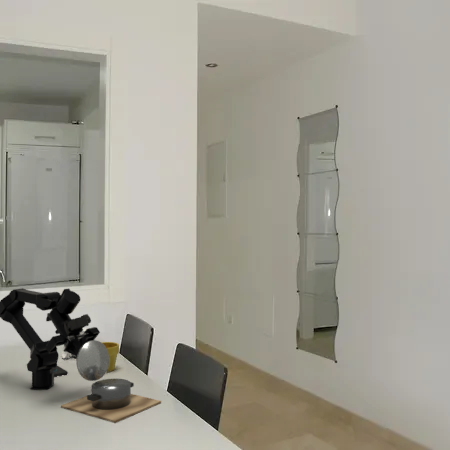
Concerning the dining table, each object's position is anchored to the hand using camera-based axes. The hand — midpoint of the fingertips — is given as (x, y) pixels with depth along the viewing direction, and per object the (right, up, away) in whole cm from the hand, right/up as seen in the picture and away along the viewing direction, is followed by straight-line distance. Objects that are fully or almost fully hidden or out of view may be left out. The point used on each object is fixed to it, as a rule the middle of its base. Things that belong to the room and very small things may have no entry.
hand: (86, 360), depth 179 cm
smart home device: (-23, -13, +33) cm, 43 cm away
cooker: (+10, -13, -6) cm, 17 cm away
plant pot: (-1, -12, +34) cm, 36 cm away
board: (+10, -13, -6) cm, 17 cm away
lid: (+3, 0, -2) cm, 4 cm away
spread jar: (-17, -12, +53) cm, 58 cm away
